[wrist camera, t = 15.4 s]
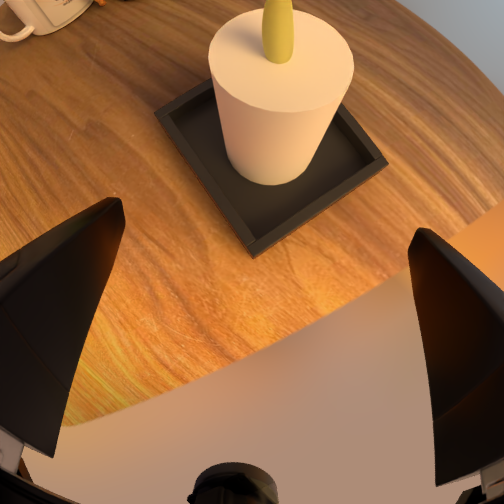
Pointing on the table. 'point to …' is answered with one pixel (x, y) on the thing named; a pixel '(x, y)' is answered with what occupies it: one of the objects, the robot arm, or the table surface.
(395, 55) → the table surface
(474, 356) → the robot arm
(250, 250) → the shallow square tray
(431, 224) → the table surface
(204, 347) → the table surface
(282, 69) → the candle
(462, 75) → the table surface
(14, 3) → the mug
